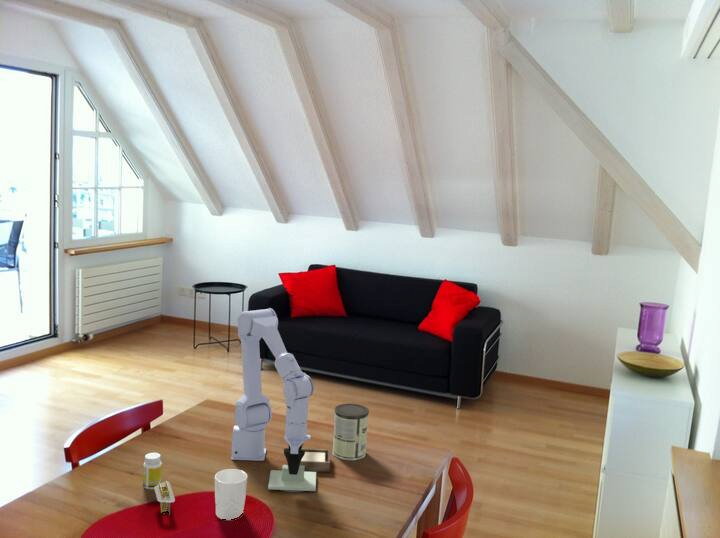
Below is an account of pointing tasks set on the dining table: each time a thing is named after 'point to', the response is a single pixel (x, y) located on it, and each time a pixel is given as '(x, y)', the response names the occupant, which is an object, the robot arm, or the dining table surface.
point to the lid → (292, 480)
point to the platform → (168, 495)
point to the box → (316, 460)
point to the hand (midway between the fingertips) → (293, 467)
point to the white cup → (230, 493)
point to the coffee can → (350, 431)
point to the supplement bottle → (152, 470)
